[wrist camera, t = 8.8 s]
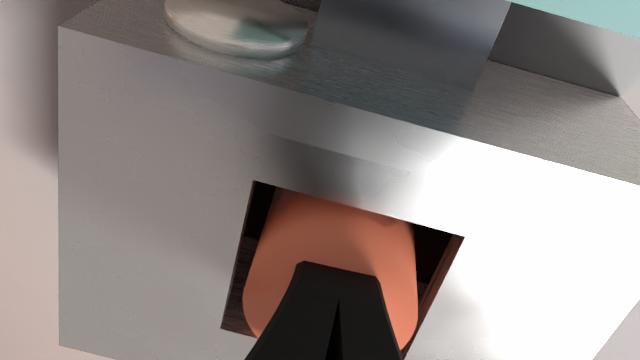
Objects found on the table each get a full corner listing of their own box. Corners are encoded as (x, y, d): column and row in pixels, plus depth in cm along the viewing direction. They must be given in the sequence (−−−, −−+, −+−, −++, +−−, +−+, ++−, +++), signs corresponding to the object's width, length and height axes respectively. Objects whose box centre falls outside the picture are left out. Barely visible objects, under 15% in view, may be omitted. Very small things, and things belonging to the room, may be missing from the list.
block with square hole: (630, 82, 12) (724, 187, 8) (488, 323, 16) (514, 460, 12) (156, -53, 11) (58, 2, 8) (131, 229, 15) (59, 345, 12)
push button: (430, 148, 12) (444, 270, 9) (387, 251, 14) (386, 387, 11) (296, 111, 12) (260, 221, 9) (269, 219, 14) (229, 347, 11)
